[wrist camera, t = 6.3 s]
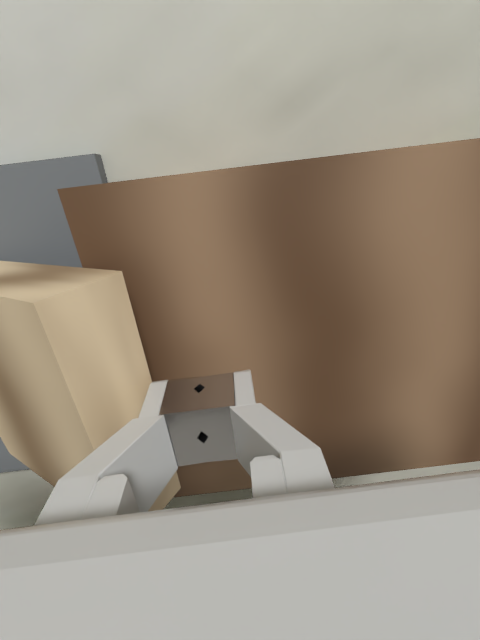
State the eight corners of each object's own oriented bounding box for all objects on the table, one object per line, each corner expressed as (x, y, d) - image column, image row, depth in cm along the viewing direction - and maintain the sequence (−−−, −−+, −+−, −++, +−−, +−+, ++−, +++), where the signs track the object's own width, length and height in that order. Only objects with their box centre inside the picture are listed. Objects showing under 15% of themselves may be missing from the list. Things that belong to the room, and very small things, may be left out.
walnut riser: (482, 140, 12) (598, 123, 8) (434, 397, 17) (492, 459, 13) (108, 184, 12) (57, 188, 8) (172, 428, 17) (158, 499, 13)
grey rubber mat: (100, 155, 11) (94, 153, 11) (175, 443, 17) (174, 451, 17) (-232, 194, 11) (-255, 195, 11) (-43, 469, 17) (-52, 478, 17)
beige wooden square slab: (122, 271, 8) (33, 303, 6) (180, 487, 11) (133, 545, 10) (-15, 259, 12) (-91, 276, 10) (57, 420, 15) (9, 453, 14)
